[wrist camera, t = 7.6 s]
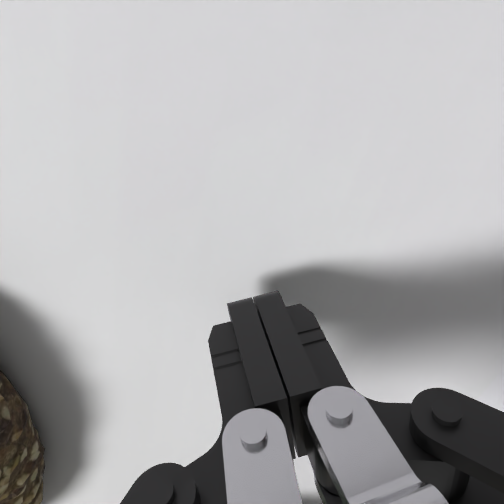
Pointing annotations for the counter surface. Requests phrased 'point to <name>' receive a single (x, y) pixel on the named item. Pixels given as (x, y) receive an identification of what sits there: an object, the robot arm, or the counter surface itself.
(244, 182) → the counter surface
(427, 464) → the robot arm
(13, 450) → the bread roll
